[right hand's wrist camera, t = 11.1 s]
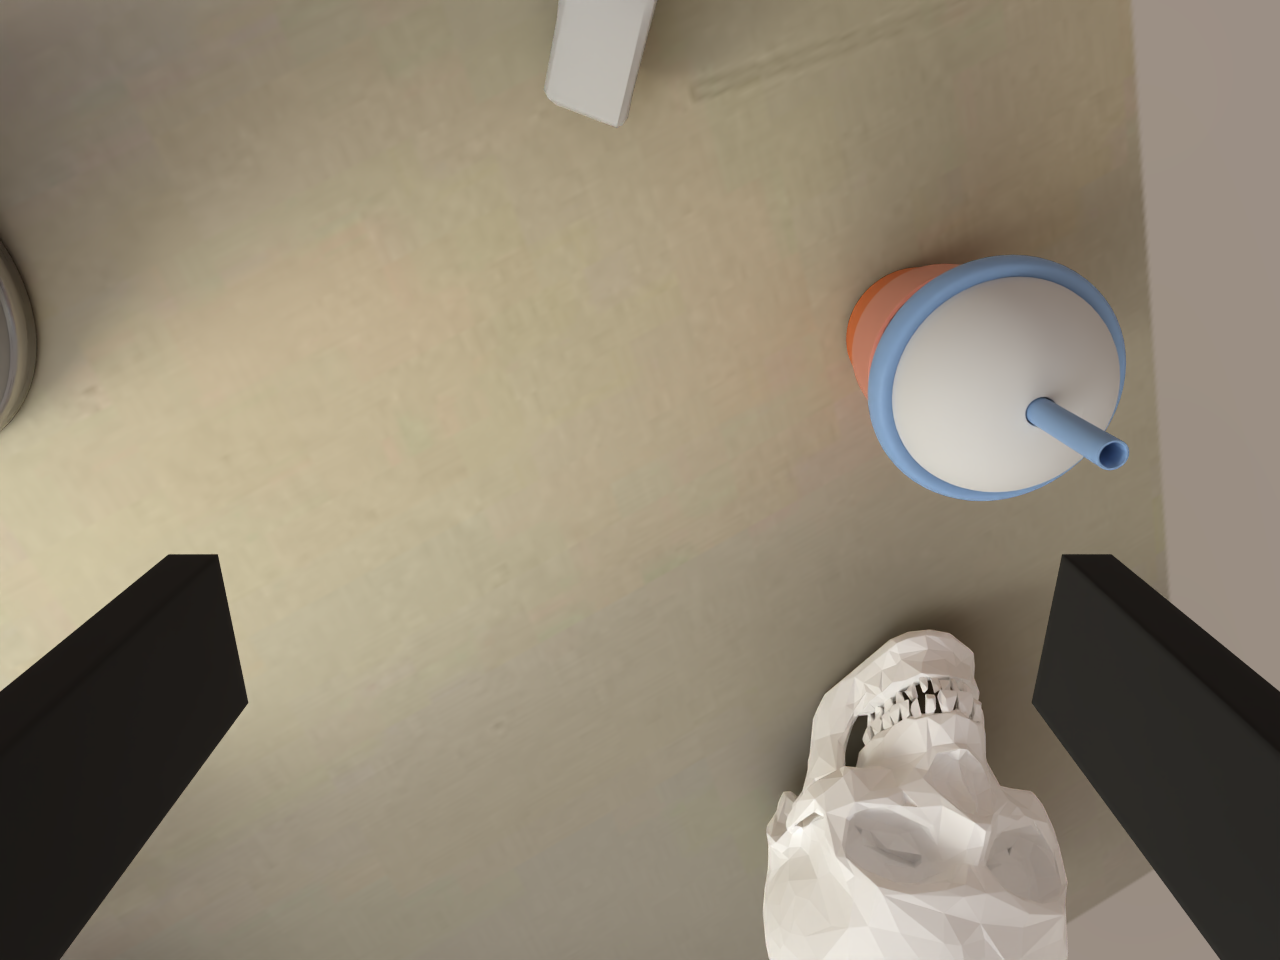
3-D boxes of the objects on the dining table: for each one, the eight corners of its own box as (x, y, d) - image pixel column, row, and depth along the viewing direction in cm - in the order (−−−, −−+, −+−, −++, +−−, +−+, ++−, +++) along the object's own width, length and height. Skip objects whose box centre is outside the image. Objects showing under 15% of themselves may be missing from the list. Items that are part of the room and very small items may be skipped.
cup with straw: (1019, 234, 37) (1330, 286, 21) (989, 423, 41) (1235, 601, 24) (822, 233, 37) (971, 285, 21) (807, 423, 41) (925, 601, 24)
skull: (1035, 620, 45) (1216, 842, 30) (944, 915, 52) (1052, 1208, 38) (793, 596, 45) (855, 807, 30) (739, 895, 52) (766, 1180, 38)
